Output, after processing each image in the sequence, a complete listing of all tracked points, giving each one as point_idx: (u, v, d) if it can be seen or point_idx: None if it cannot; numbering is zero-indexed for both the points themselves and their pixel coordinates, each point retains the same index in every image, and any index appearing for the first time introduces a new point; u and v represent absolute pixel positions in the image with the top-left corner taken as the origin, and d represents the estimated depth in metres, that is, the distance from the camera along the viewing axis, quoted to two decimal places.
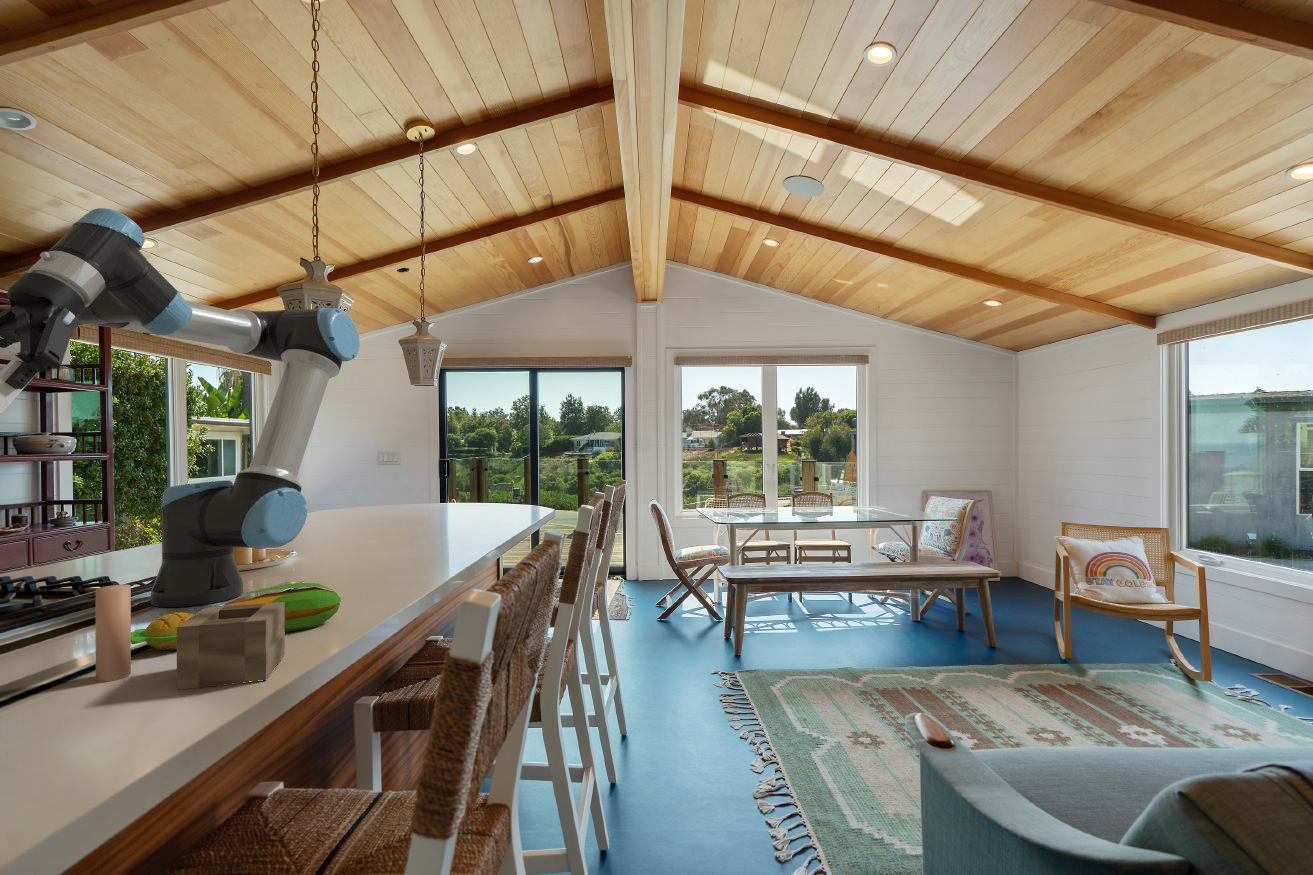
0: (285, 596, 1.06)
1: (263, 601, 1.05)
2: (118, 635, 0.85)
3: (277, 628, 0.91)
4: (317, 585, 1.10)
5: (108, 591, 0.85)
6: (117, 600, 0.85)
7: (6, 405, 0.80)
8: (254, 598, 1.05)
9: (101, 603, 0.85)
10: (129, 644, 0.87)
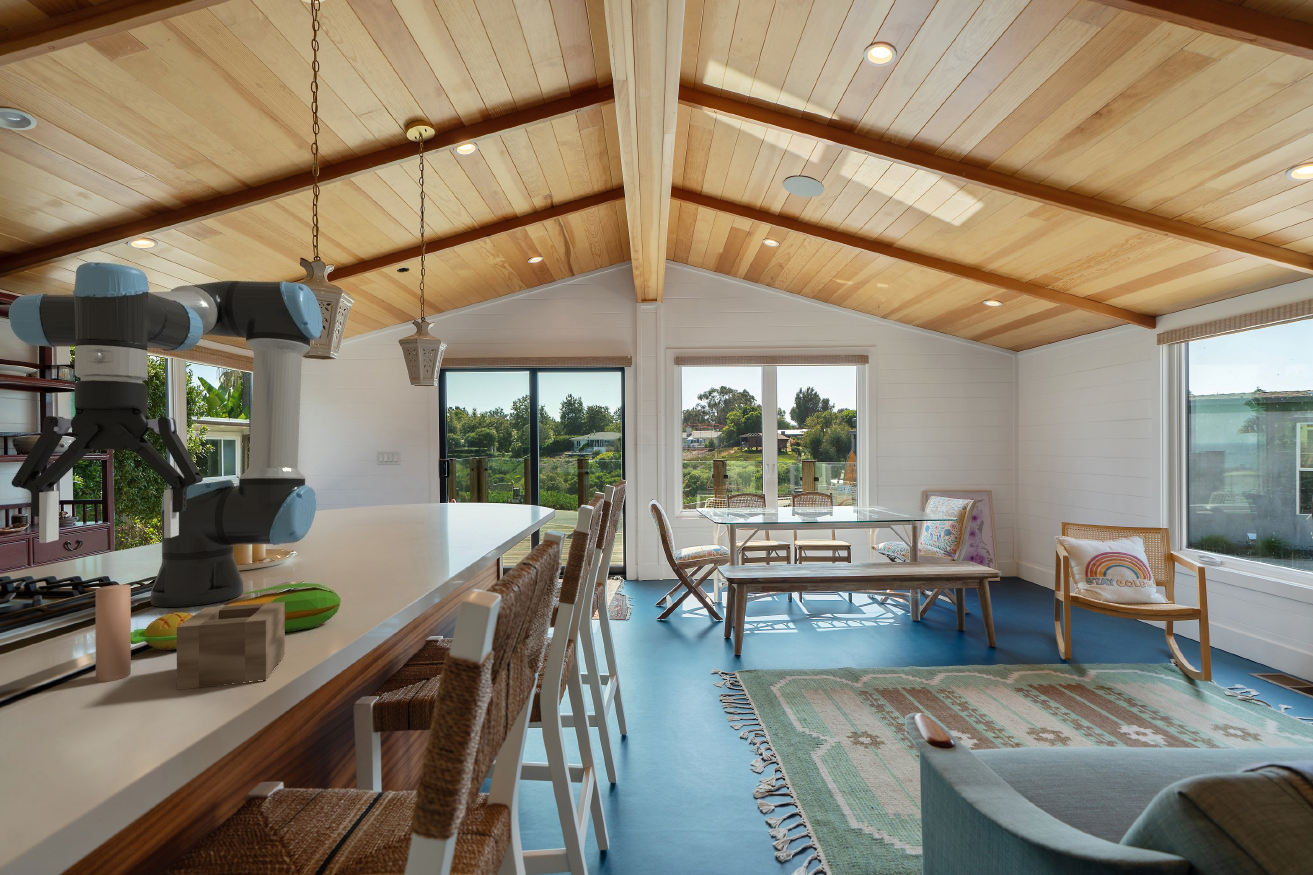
0: (284, 596, 1.05)
1: (262, 601, 1.05)
2: (118, 635, 0.85)
3: (277, 628, 0.91)
4: (316, 586, 1.10)
5: (108, 591, 0.85)
6: (117, 600, 0.85)
7: (178, 526, 0.90)
8: (254, 598, 1.05)
9: (101, 603, 0.85)
10: (129, 644, 0.87)
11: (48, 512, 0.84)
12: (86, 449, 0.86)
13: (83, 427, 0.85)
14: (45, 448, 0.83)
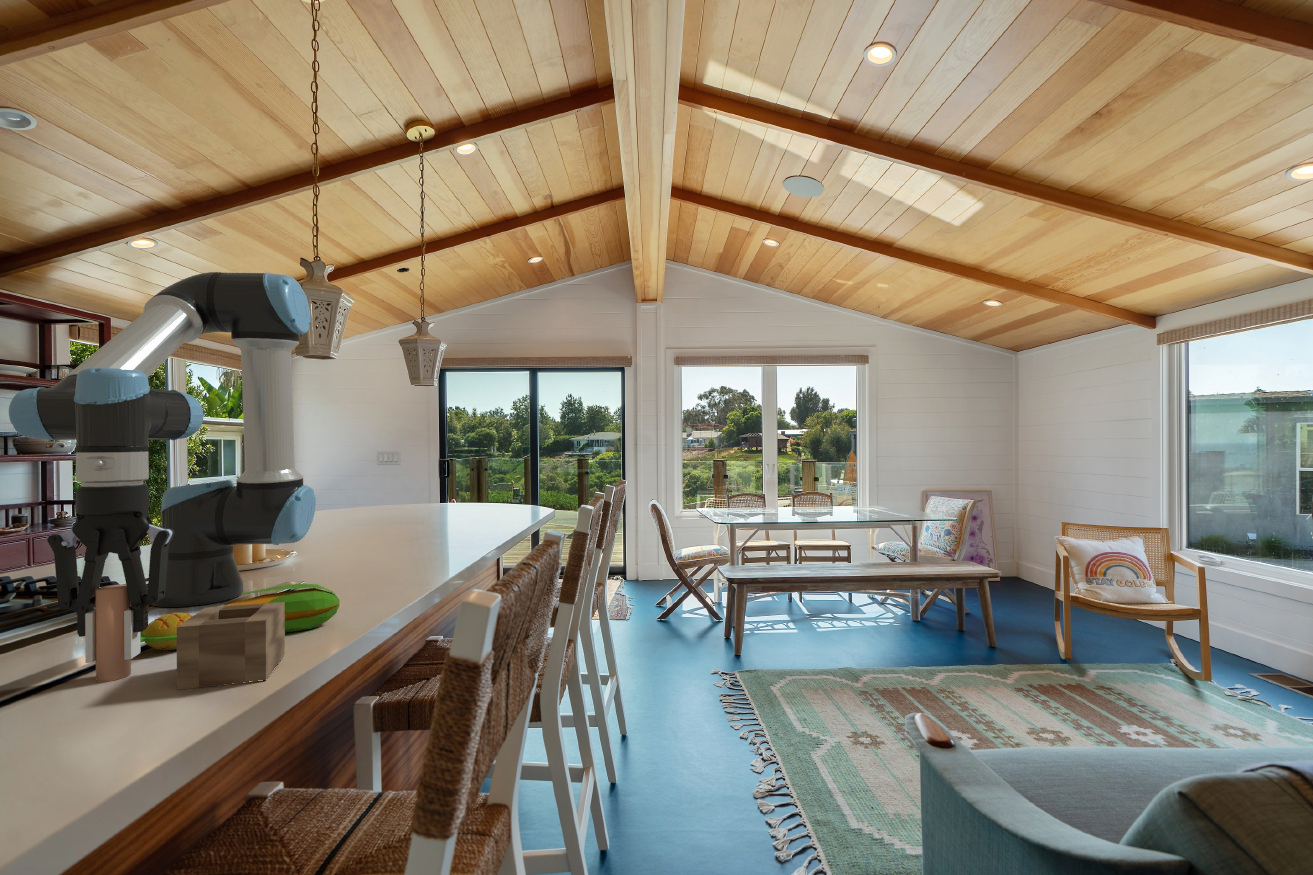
0: (282, 597, 1.05)
1: (260, 602, 1.04)
2: (118, 635, 0.86)
3: (277, 628, 0.91)
4: (315, 587, 1.09)
5: (108, 591, 0.85)
6: (117, 600, 0.85)
7: (139, 644, 0.88)
8: (252, 598, 1.05)
9: (101, 603, 0.85)
10: None
11: (94, 632, 0.85)
12: (102, 555, 0.86)
13: (86, 530, 0.85)
14: (66, 564, 0.84)
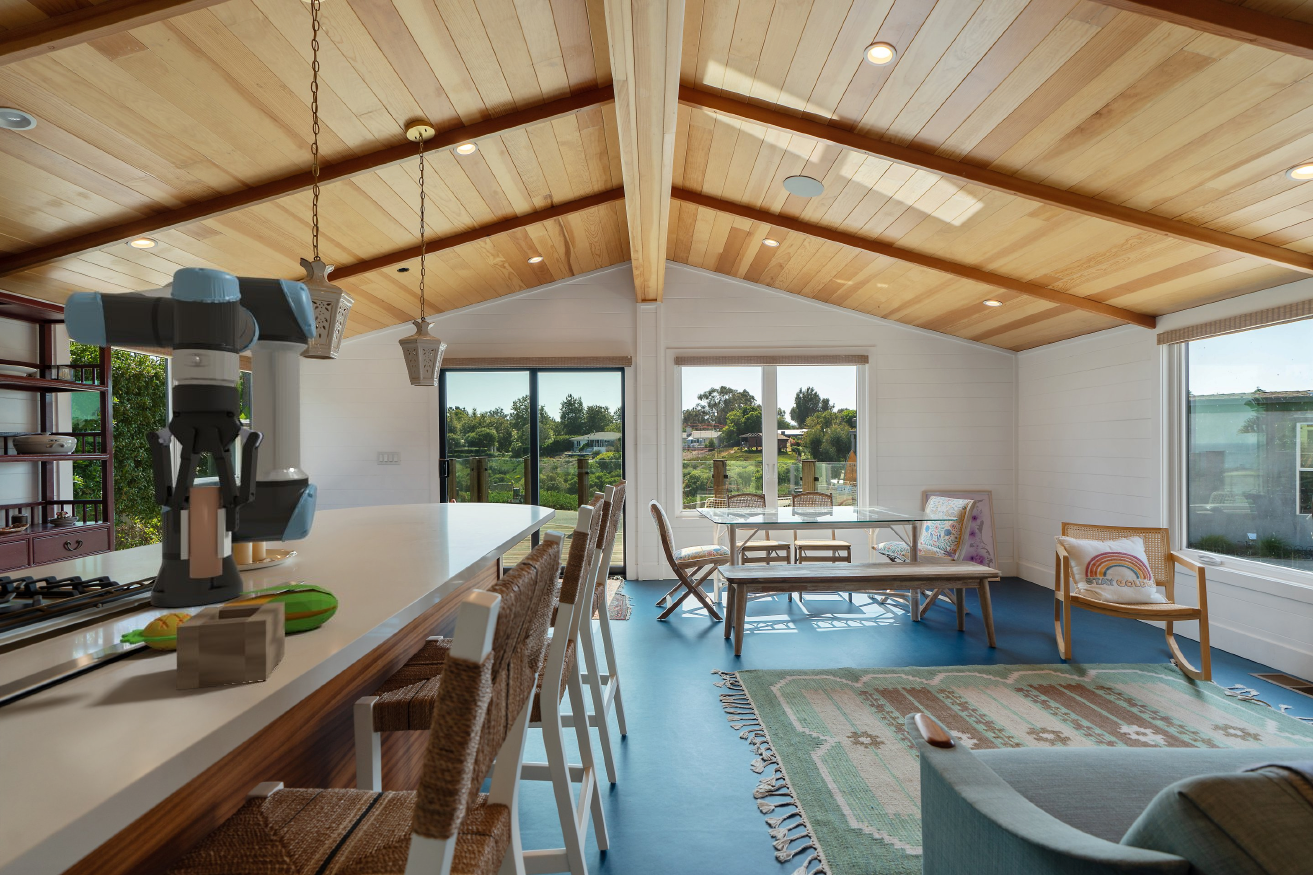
0: (279, 598, 1.05)
1: (257, 602, 1.04)
2: (211, 533, 0.86)
3: (277, 628, 0.91)
4: (313, 587, 1.09)
5: (202, 489, 0.86)
6: (211, 498, 0.86)
7: (230, 546, 0.89)
8: (250, 599, 1.05)
9: (196, 500, 0.86)
10: None
11: (188, 529, 0.86)
12: (196, 455, 0.87)
13: (182, 428, 0.86)
14: (163, 461, 0.85)
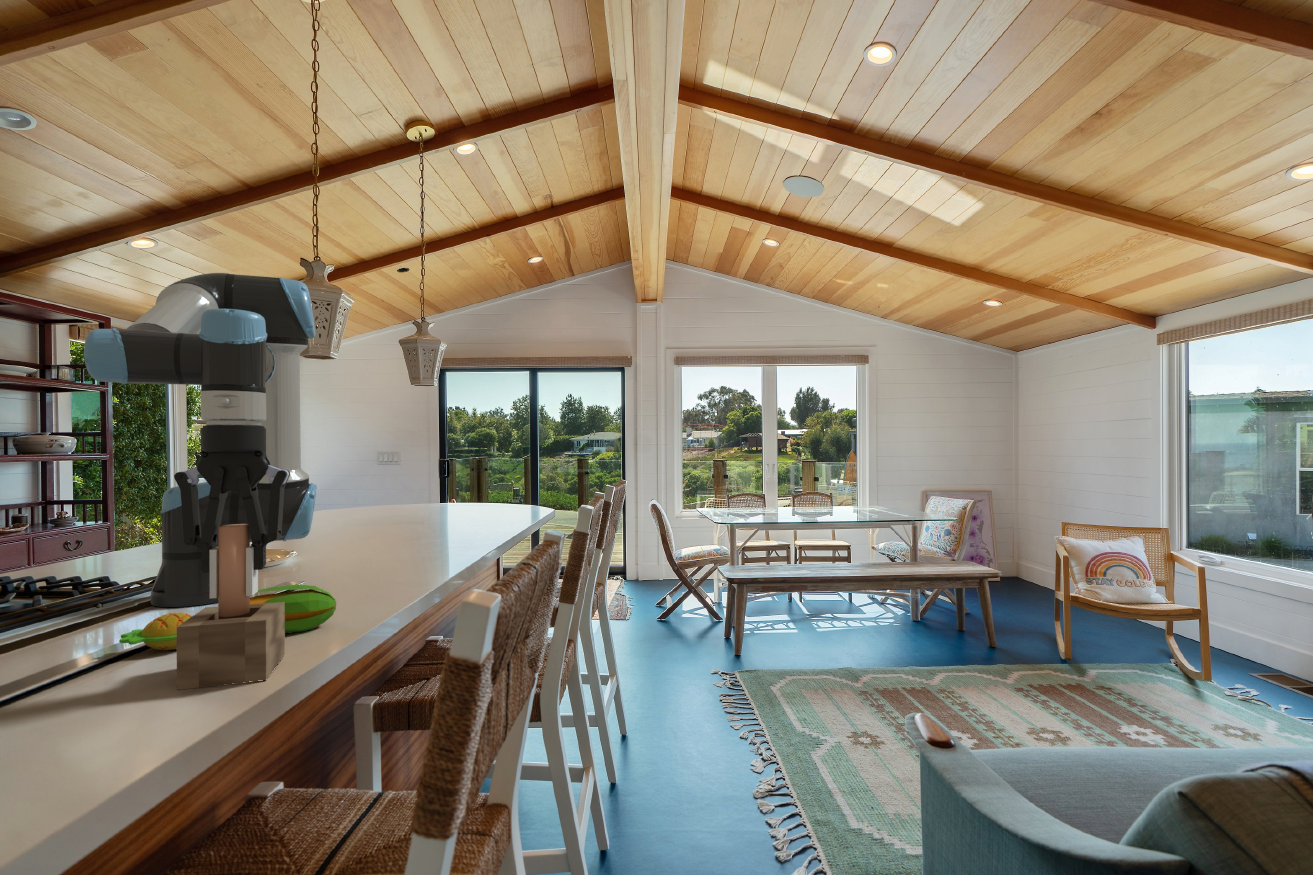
0: (276, 598, 1.04)
1: (255, 602, 1.04)
2: (240, 572, 0.87)
3: (277, 628, 0.91)
4: (311, 588, 1.08)
5: (231, 528, 0.86)
6: (239, 537, 0.87)
7: (257, 583, 0.90)
8: None
9: (225, 540, 0.86)
10: None
11: (217, 568, 0.87)
12: (223, 494, 0.88)
13: (210, 468, 0.86)
14: (191, 501, 0.86)
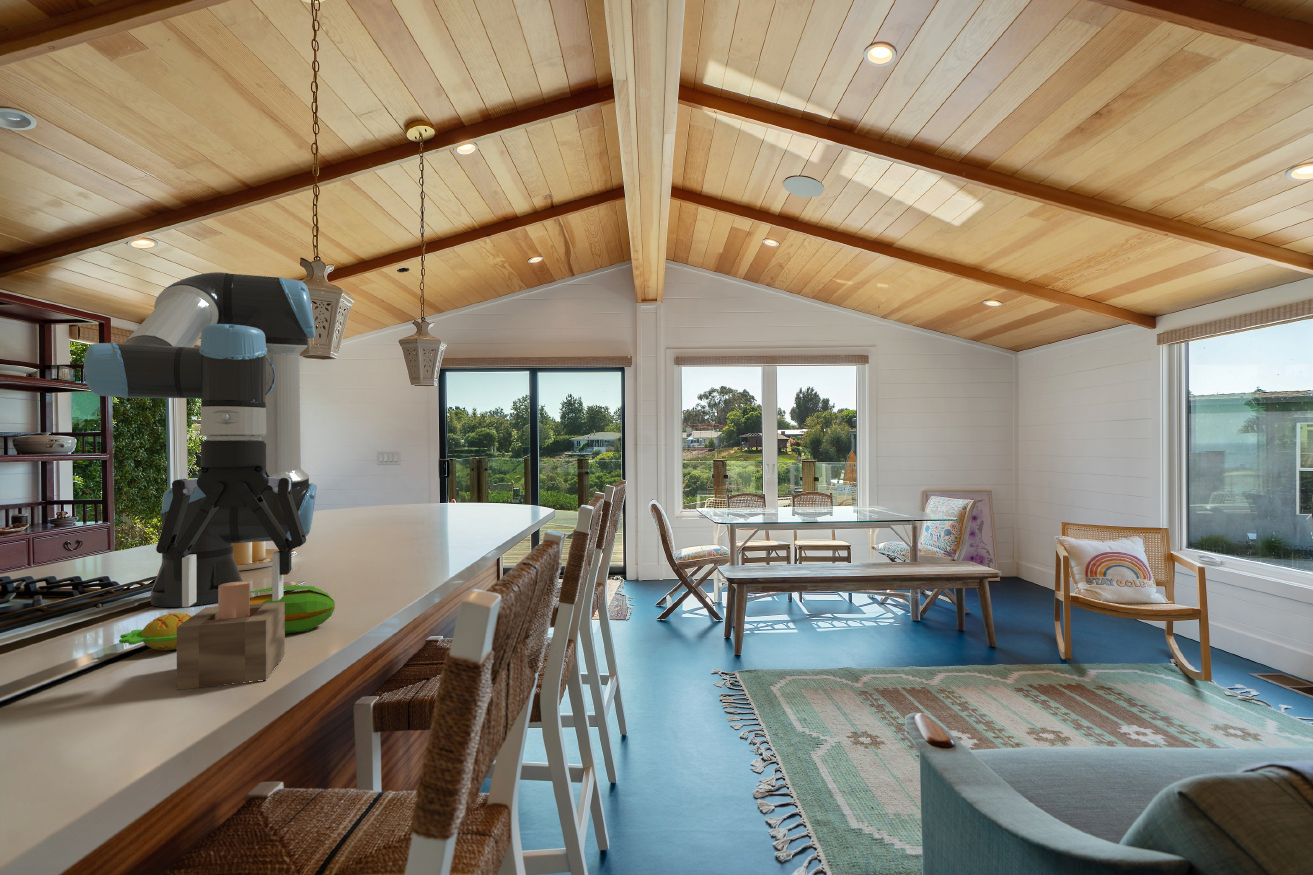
0: None
1: (253, 603, 1.04)
2: None
3: (277, 628, 0.91)
4: (309, 589, 1.08)
5: (231, 588, 0.86)
6: (239, 597, 0.87)
7: (282, 587, 0.91)
8: None
9: (225, 600, 0.86)
10: None
11: (189, 576, 0.86)
12: (215, 508, 0.88)
13: (209, 485, 0.86)
14: (179, 511, 0.85)
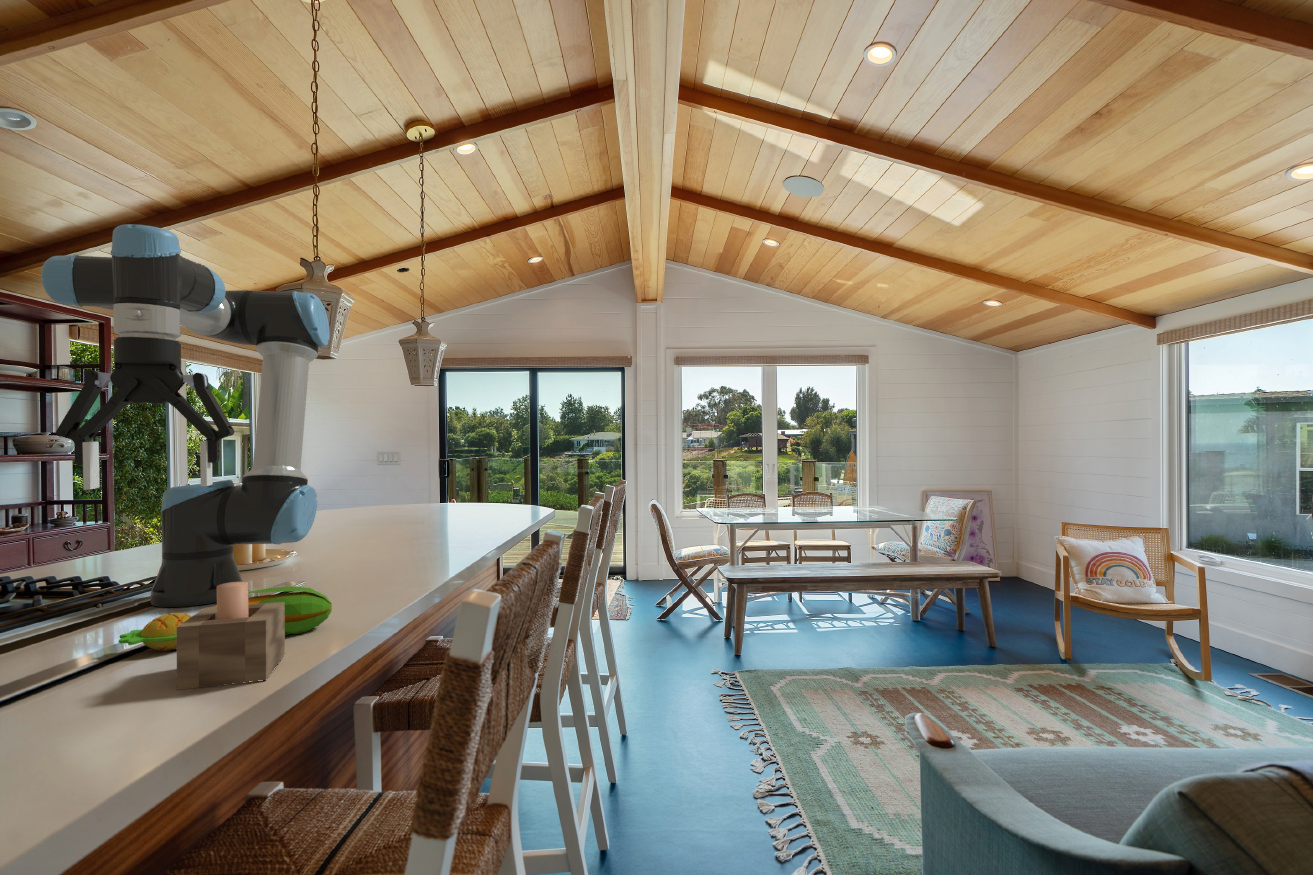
0: (269, 600, 1.03)
1: (249, 603, 1.03)
2: None
3: (277, 628, 0.91)
4: (305, 590, 1.07)
5: (230, 588, 0.86)
6: (238, 597, 0.87)
7: (211, 476, 0.96)
8: None
9: (223, 600, 0.86)
10: None
11: (91, 461, 0.89)
12: (125, 402, 0.91)
13: (122, 381, 0.90)
14: (86, 400, 0.88)
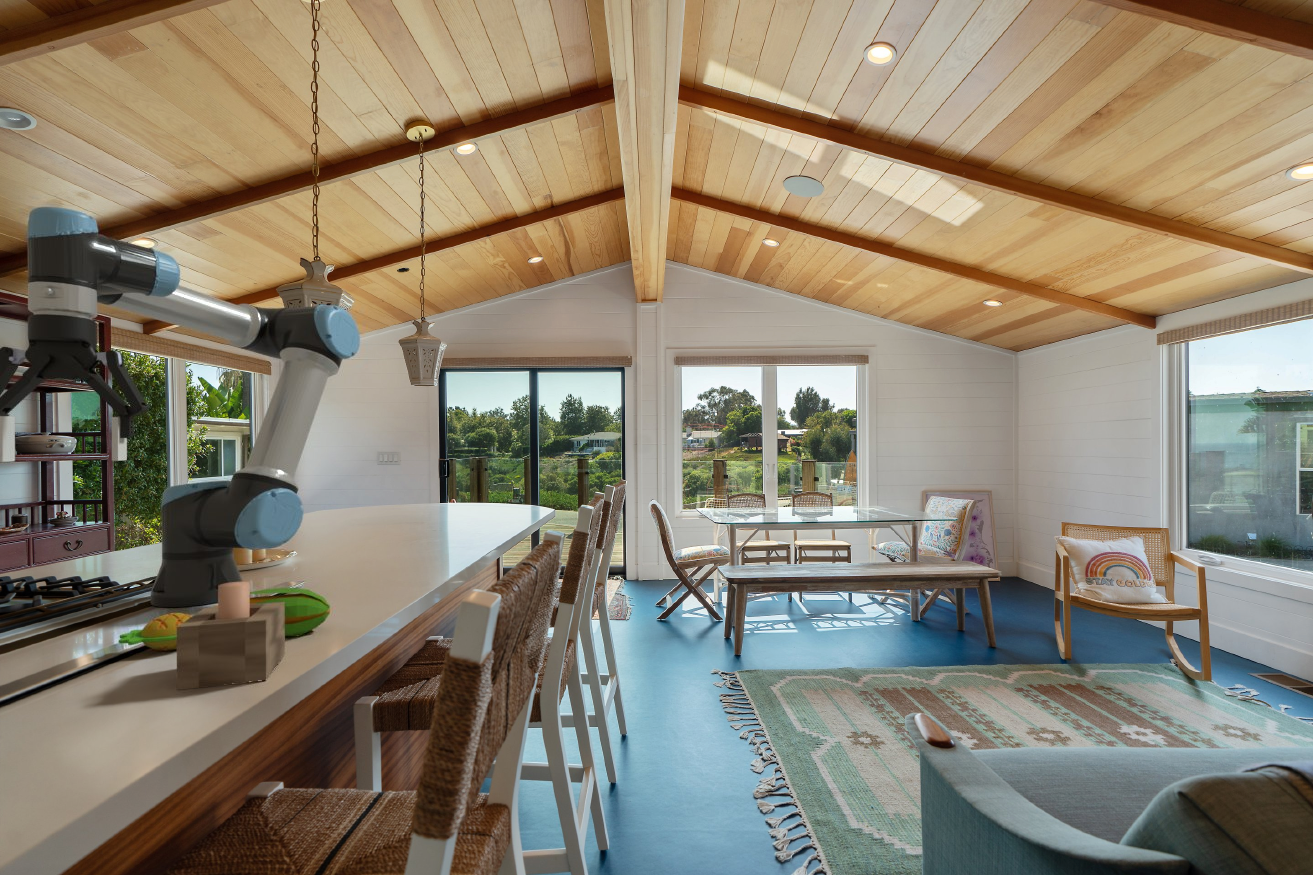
0: (265, 601, 1.02)
1: None
2: None
3: (277, 628, 0.91)
4: (303, 592, 1.05)
5: (231, 587, 0.87)
6: (239, 596, 0.87)
7: (126, 452, 0.98)
8: None
9: (225, 599, 0.86)
10: None
11: (4, 434, 0.92)
12: (39, 378, 0.94)
13: (36, 358, 0.93)
14: (0, 376, 0.91)
